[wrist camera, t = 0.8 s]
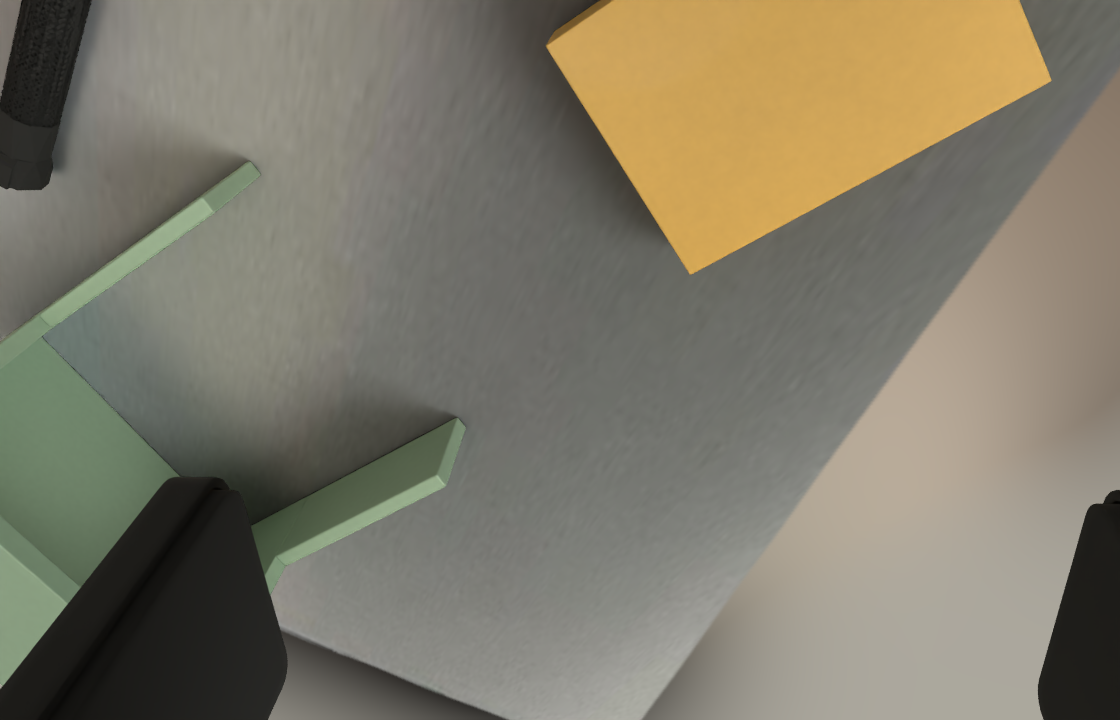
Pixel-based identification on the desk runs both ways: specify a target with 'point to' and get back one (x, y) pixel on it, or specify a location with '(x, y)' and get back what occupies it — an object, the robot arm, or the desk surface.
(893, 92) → the orange flat block
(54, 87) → the flashlight
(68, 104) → the desk surface
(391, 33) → the desk surface
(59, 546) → the green block
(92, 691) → the robot arm
